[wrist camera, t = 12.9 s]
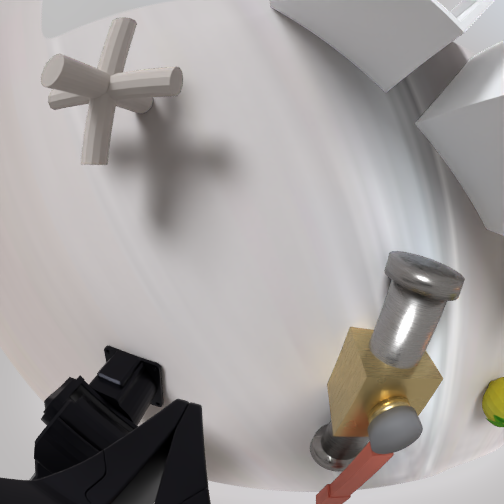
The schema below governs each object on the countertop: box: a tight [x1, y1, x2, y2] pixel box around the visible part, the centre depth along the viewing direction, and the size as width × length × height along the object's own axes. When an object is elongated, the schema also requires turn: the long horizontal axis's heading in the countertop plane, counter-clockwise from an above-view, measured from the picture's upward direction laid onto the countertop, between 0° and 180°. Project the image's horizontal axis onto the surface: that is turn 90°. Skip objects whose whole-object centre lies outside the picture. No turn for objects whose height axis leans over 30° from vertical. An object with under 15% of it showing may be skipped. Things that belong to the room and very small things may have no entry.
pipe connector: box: [41, 18, 183, 165], centre depth 13 cm, size 10×10×10 cm
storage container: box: [269, 0, 504, 236], centre depth 9 cm, size 25×11×11 cm, turn 48°
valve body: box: [310, 251, 465, 471], centre depth 18 cm, size 20×6×7 cm, turn 171°
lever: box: [316, 406, 423, 504], centre depth 15 cm, size 15×4×2 cm, turn 170°
